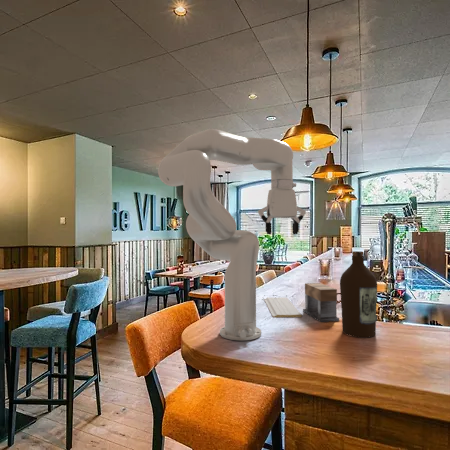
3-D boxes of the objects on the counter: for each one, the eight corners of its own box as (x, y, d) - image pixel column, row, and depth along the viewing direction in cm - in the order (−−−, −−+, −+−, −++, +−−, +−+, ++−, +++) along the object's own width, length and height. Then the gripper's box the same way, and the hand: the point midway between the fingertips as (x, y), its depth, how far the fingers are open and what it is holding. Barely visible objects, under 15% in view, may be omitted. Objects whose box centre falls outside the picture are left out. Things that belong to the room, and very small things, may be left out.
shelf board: (305, 293, 126) (304, 283, 126) (319, 293, 127) (319, 283, 127) (320, 301, 112) (320, 289, 112) (336, 300, 113) (336, 289, 113)
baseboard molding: (268, 318, 118) (301, 319, 118) (268, 310, 118) (301, 311, 118) (260, 300, 149) (286, 300, 149) (260, 294, 149) (286, 294, 149)
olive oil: (333, 330, 102) (332, 251, 102) (357, 326, 106) (356, 250, 107) (359, 340, 92) (358, 253, 93) (385, 335, 97) (384, 252, 97)
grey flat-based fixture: (339, 321, 113) (339, 300, 113) (320, 322, 111) (320, 301, 112) (319, 310, 127) (319, 292, 127) (303, 311, 126) (302, 293, 126)
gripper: (300, 188, 120) (301, 234, 120) (255, 187, 117) (255, 234, 117) (309, 185, 113) (309, 234, 112) (261, 184, 110) (261, 234, 109)
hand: (282, 234), depth 115 cm, fingers open, 9 cm apart
